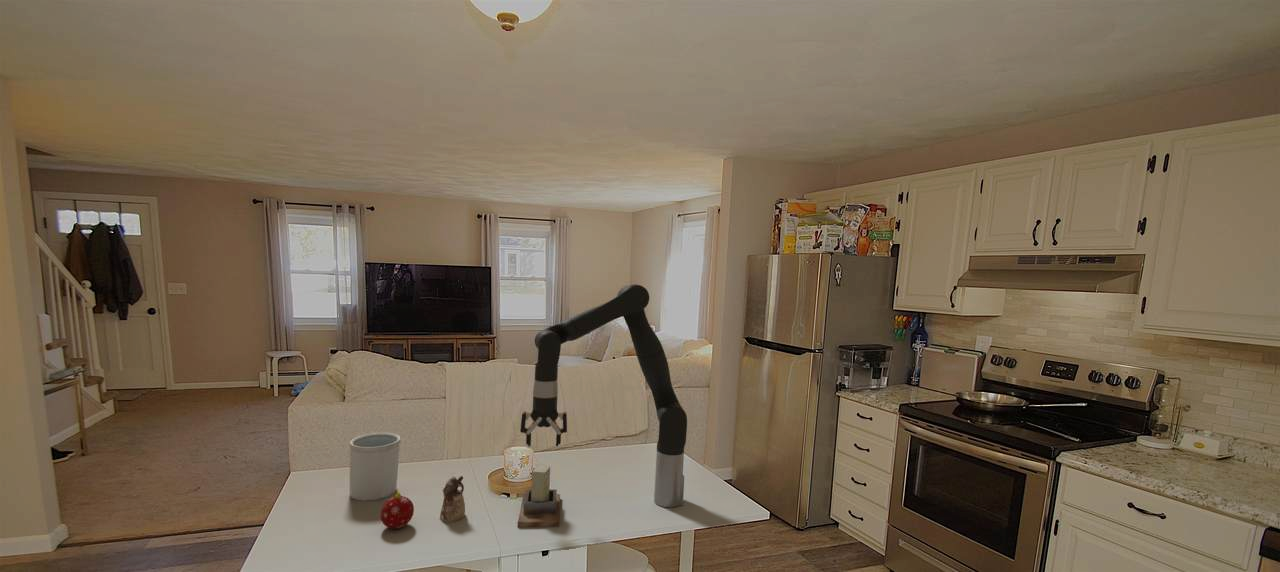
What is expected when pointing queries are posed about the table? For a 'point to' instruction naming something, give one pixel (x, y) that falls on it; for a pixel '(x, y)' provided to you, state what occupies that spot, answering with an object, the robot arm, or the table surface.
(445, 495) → the figurine
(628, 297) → the robot arm
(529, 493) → the collar
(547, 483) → the skincare box
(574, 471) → the table surface
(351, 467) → the utensil holder
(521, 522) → the keeper board
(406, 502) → the christmas ornament
